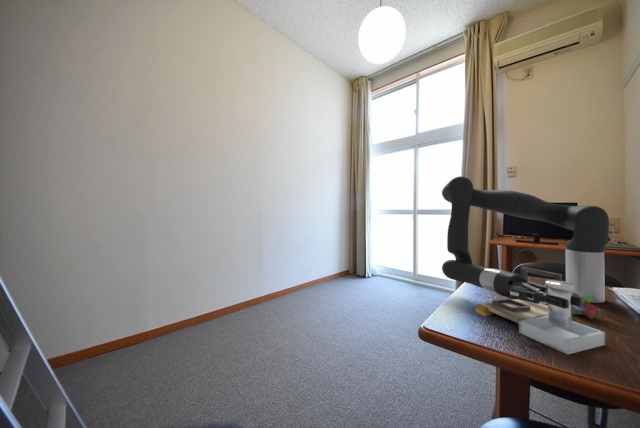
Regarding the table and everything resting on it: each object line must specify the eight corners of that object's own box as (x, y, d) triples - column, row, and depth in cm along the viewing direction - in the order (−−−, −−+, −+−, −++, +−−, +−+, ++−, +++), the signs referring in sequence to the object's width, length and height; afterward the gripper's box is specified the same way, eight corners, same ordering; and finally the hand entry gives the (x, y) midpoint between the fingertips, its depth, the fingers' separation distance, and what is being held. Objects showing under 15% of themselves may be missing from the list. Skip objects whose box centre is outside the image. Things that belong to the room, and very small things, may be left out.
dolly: (521, 304, 79) (520, 266, 79) (564, 319, 68) (563, 274, 68) (475, 312, 74) (475, 270, 74) (514, 329, 63) (513, 281, 63)
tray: (553, 325, 65) (553, 314, 65) (605, 344, 55) (605, 332, 55) (518, 332, 62) (518, 321, 62) (567, 354, 52) (567, 341, 52)
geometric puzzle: (616, 316, 65) (594, 288, 70) (593, 317, 65) (573, 288, 70) (591, 322, 71) (573, 295, 76) (570, 323, 71) (553, 296, 75)
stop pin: (554, 317, 62) (553, 279, 61) (579, 326, 57) (579, 285, 57) (540, 319, 60) (540, 281, 60) (565, 329, 55) (565, 287, 55)
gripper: (483, 272, 70) (553, 290, 54) (518, 268, 74) (594, 284, 57) (483, 297, 70) (553, 323, 54) (518, 292, 74) (594, 315, 58)
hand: (573, 303), depth 56 cm, fingers closed on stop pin, 4 cm apart
